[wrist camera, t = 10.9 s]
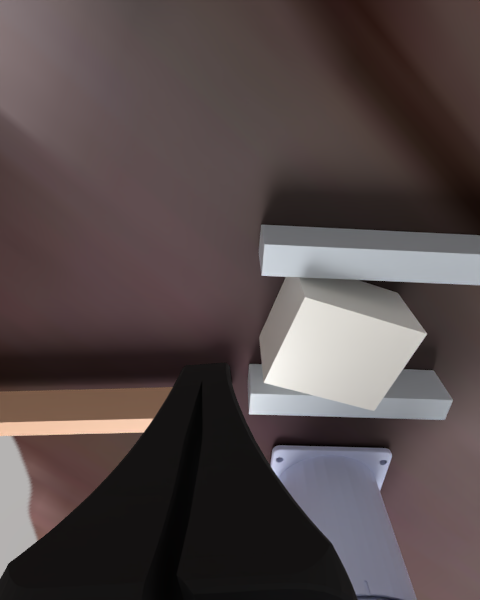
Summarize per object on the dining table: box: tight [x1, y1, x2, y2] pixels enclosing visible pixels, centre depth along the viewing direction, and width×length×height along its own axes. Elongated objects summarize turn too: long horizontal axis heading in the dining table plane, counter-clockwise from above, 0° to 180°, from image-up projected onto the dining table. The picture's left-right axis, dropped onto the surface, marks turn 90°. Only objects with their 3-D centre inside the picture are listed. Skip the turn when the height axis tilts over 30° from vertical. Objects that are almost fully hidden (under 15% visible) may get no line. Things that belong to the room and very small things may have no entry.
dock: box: [248, 225, 480, 420], centre depth 21 cm, size 10×11×2 cm
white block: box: [259, 277, 427, 411], centre depth 21 cm, size 5×6×4 cm
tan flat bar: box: [0, 387, 173, 436], centre depth 23 cm, size 17×1×4 cm, turn 91°
